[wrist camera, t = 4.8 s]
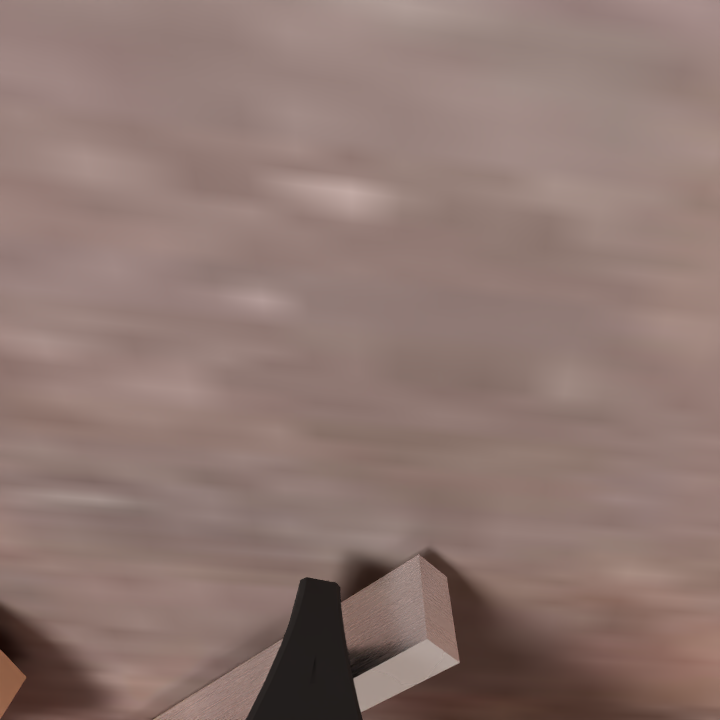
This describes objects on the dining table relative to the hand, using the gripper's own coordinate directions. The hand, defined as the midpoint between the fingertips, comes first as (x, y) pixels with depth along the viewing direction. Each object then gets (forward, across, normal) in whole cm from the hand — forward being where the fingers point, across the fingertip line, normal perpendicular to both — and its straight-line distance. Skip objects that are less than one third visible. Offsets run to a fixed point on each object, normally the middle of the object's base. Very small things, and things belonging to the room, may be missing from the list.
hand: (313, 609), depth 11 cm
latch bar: (+1, +1, +5) cm, 5 cm away
